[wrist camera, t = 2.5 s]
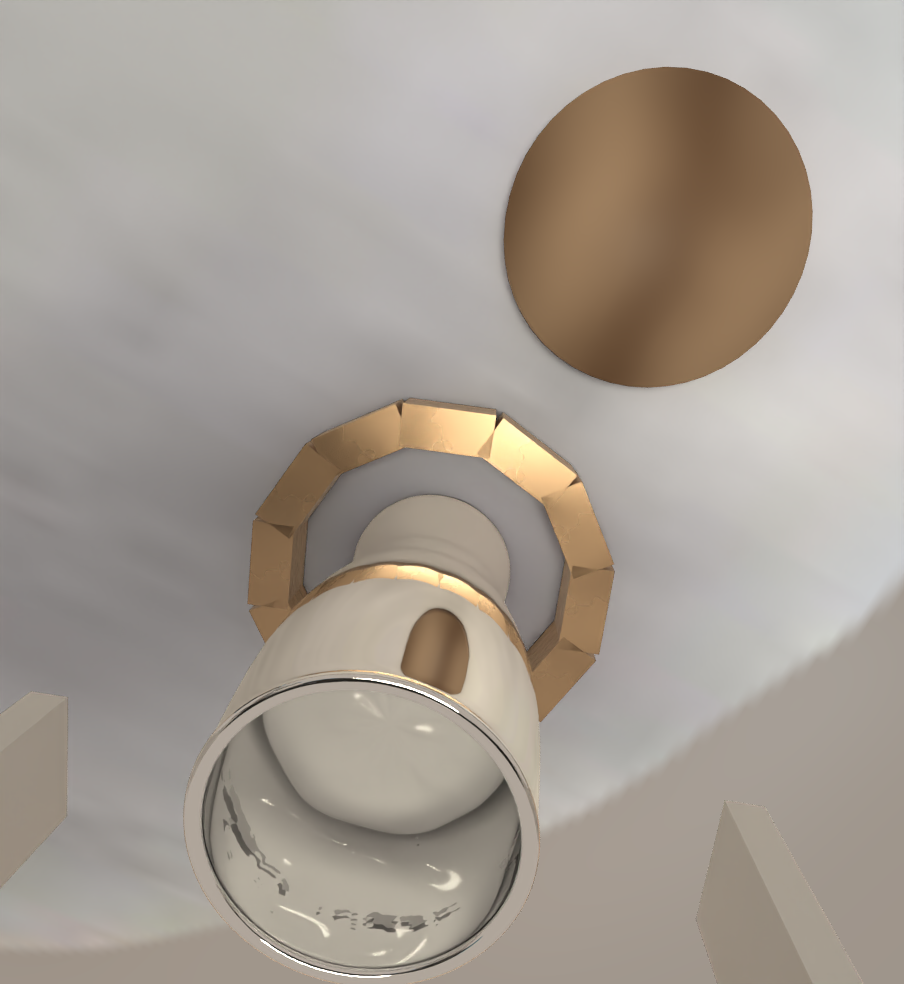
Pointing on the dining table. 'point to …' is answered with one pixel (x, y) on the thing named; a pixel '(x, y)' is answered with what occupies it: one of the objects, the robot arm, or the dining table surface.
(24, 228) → the dining table surface
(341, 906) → the beer glass
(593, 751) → the dining table surface
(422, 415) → the ring
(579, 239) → the walnut coaster
